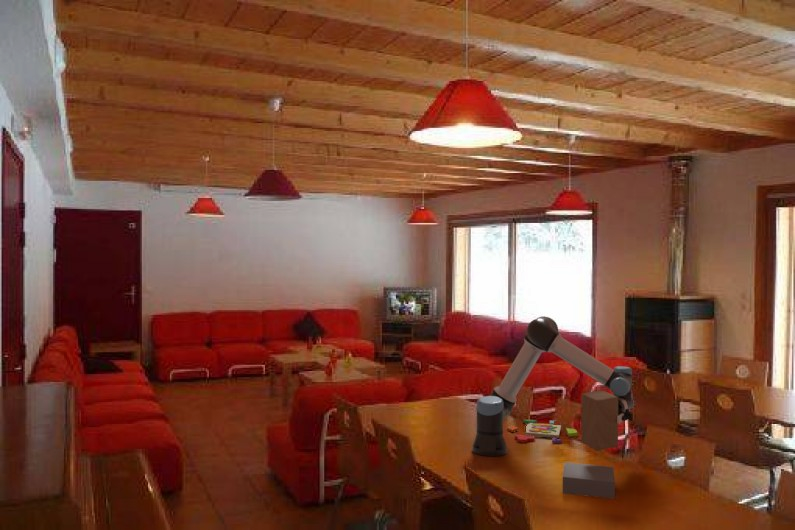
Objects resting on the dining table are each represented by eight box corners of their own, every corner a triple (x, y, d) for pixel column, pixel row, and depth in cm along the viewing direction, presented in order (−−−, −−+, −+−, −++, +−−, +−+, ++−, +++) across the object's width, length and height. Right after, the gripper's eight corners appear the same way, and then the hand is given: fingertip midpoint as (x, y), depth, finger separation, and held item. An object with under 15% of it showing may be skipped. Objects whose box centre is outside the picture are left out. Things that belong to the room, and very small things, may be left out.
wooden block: (618, 447, 248) (618, 396, 246) (596, 451, 245) (596, 400, 243) (602, 438, 258) (602, 389, 255) (581, 442, 254) (580, 393, 252)
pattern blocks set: (502, 423, 336) (502, 417, 336) (567, 424, 335) (567, 418, 335) (513, 443, 298) (513, 437, 298) (586, 445, 297) (586, 438, 297)
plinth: (562, 493, 234) (562, 476, 234) (564, 477, 251) (564, 462, 251) (614, 499, 228) (614, 482, 228) (613, 482, 246) (613, 466, 246)
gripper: (647, 421, 260) (633, 432, 243) (585, 412, 275) (568, 422, 257) (647, 402, 260) (633, 412, 243) (586, 394, 275) (568, 403, 257)
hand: (600, 417), depth 250 cm, fingers closed on wooden block, 13 cm apart
